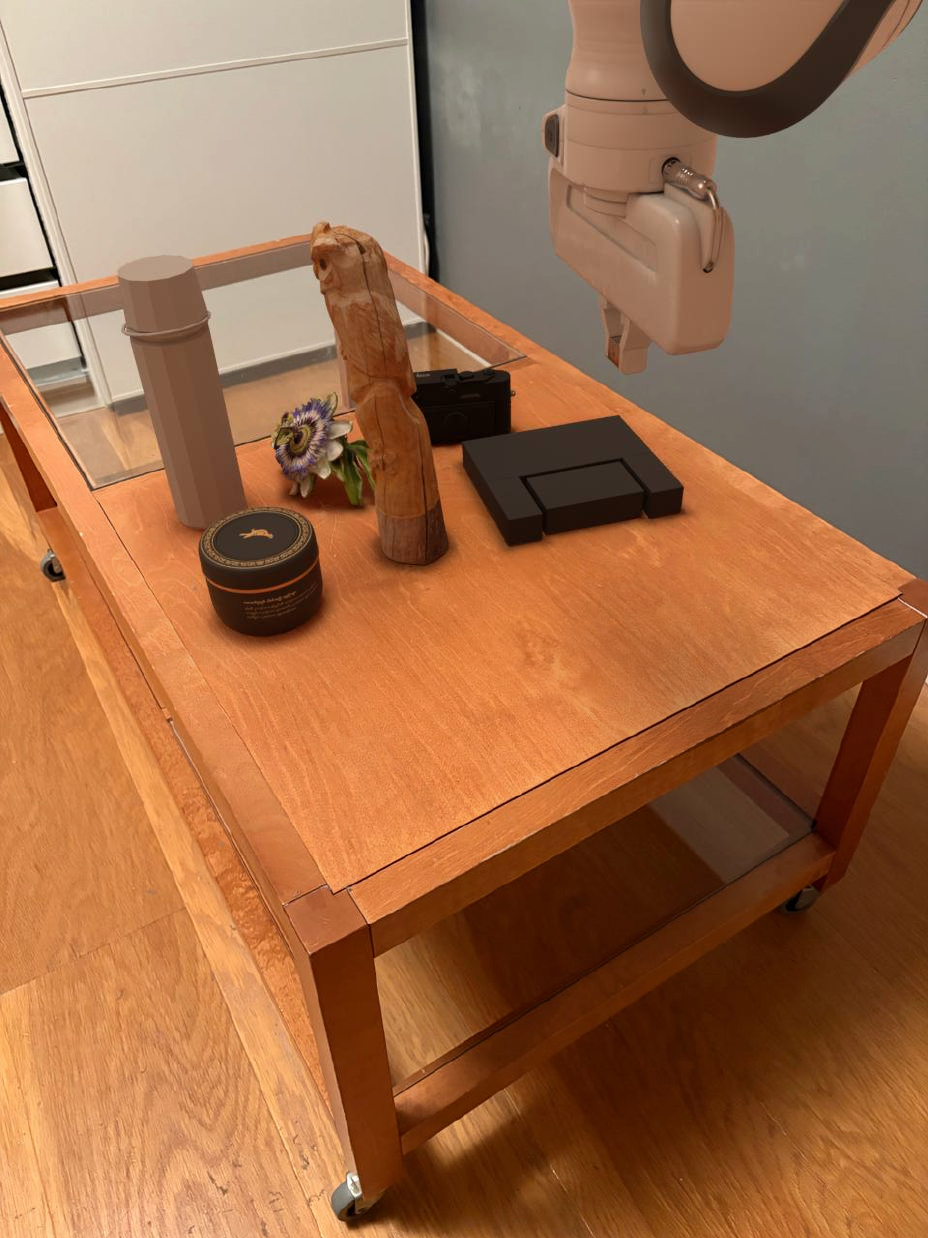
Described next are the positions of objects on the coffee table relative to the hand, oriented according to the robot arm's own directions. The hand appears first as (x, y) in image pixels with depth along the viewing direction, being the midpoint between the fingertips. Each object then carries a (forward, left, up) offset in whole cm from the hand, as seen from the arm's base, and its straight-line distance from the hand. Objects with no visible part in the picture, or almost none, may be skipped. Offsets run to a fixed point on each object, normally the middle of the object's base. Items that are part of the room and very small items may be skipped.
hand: (624, 365), depth 64 cm
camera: (+2, -40, -25) cm, 47 cm away
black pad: (-6, -19, -24) cm, 32 cm away
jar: (+26, -14, -25) cm, 39 cm away
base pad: (-6, -24, -24) cm, 34 cm away
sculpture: (+13, -19, -25) cm, 34 cm away
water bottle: (+30, -32, -25) cm, 50 cm away
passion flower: (+17, -33, -25) cm, 44 cm away
